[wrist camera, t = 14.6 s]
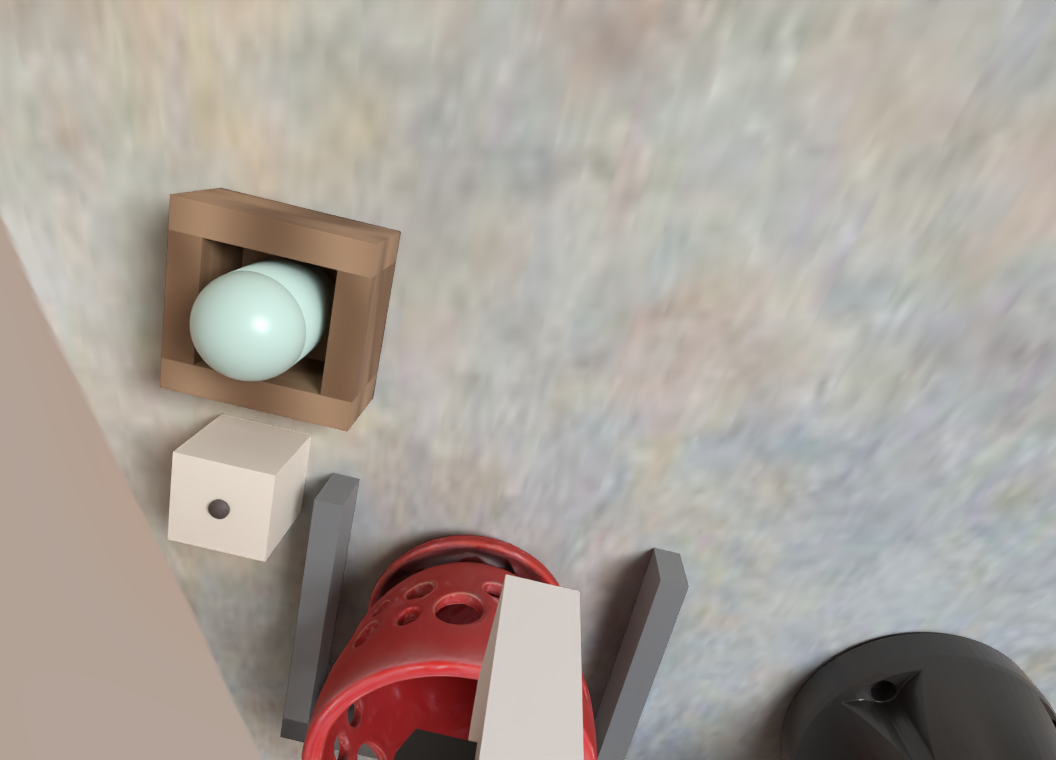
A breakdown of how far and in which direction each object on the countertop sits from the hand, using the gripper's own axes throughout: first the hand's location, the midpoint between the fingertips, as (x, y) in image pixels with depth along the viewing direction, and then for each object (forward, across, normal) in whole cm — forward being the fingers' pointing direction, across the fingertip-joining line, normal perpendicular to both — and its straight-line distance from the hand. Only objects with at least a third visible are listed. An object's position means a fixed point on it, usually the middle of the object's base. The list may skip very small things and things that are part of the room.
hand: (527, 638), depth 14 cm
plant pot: (+23, 0, +17) cm, 28 cm away
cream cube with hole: (+23, +14, +11) cm, 29 cm away
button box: (+22, +13, +1) cm, 26 cm away
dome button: (+21, +13, +1) cm, 25 cm away
